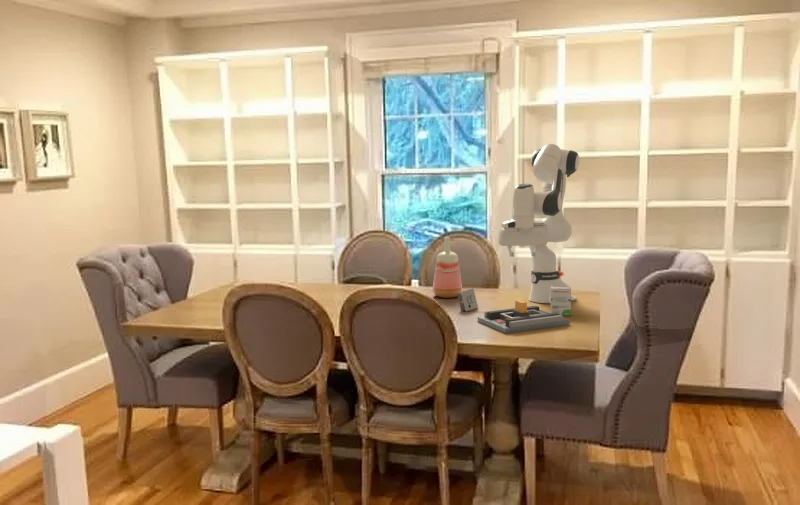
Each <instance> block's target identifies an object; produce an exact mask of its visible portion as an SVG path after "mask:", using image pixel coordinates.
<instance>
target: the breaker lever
mask: <svg viewBox="0 0 800 505" xmlns="http://www.w3.org/2000/svg"><path fill="white" fill-rule="evenodd" d="M527 306H528V302H527V301H523V300H522V299H518V300H515V301H514V308H515V310H513V317H519V316H527V315H529V312H528V311H527Z"/></svg>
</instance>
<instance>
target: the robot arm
mask: <svg viewBox="0 0 800 505" xmlns="http://www.w3.org/2000/svg"><path fill="white" fill-rule="evenodd" d="M580 161H581V160H580V155H579V153H578V152H577V151H574V150H572V149H571V150H567V149H562V148H561V147H559V146H558V145H557V144H554V143H548V144H545V145H544V146H543V147H542V148H539V149H538V148H537V149H535V151H533V153H532V156H531V167H532V172H533V175H534V177H535V178H536V179H537V180H538V181H540V182H542V186H541V190H540V191H535V189H534V185H533V184H531V183H520V184H517V185H516V186H515V187H514V190H513V197H512V208H513V213H512V218H511V219H508V220H505V221H503V222H501V223H500V224H501V228H500V230H499V233H498V245H500V246H502V247H506V248H507V250H508V252H509V254H508V255H509V256H508V257H510V258H511V257H515V252H514V251H512V250H511V249H512V246H513V247H516V246H517V247H519V246H522V247H523V246H528V249H529V251H530V254H531V262H532V263H531V266H532V267H531V271H530V272H531V274H530V278H531V279H530V280H531V286H530V292H529V296H528V301H530V302H533V303H541V304H551V287H570V285H568V283H566V282H565V281H563V280H562V279H561V278H560V277H563V276H564V272H563V271H561V270H559V271H558V270H557V254H556V253H555V252H554V251H553V250H552V249H550V248H549V247H548V246H547V244H548V243H562V242H567V241H569V239H570V238H571V235H572V232H573V230H572V225H571V223H570V222H569V220H567V219H566V218H565V216H564V213H563V205H564V198H565V193H566V186H567V178H570V176H571V175H573V174H574V173H575V172H577V170H578V168H579V166H580ZM535 215H539V216H541V215H542V216H545V217H543V218H542V217H535ZM576 300H577V297H576V296H574V295H572V294H571V302H572V301H576Z"/></svg>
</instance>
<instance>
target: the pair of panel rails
mask: <svg viewBox="0 0 800 505" xmlns="http://www.w3.org/2000/svg"><path fill="white" fill-rule="evenodd" d="M533 309H534V310H537V311H539V310H540V306H538V305H529V306H528V305H527V310H533ZM513 310H515V307H514V308H513V307H511V308H503V309H495V310H486V311H484V315H483V316H485V317H487V318H490V319H491V318H499V317H500V314H501V313H509V312H513ZM548 313H549V314H541V315H534V316H526V317H518V318H510V319H506V325H507V326H509V327H511V328H513V327H520V326H528V325H535V324H543V323H550V322H557V321H563V318H564V315H560V314H559V313H551V312H548Z"/></svg>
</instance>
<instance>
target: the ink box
mask: <svg viewBox="0 0 800 505" xmlns="http://www.w3.org/2000/svg"><path fill="white" fill-rule="evenodd" d="M571 295H572V288H571V286H569V287H551V303H550V313H559V314H560V315H562V316H572V301H571Z"/></svg>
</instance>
